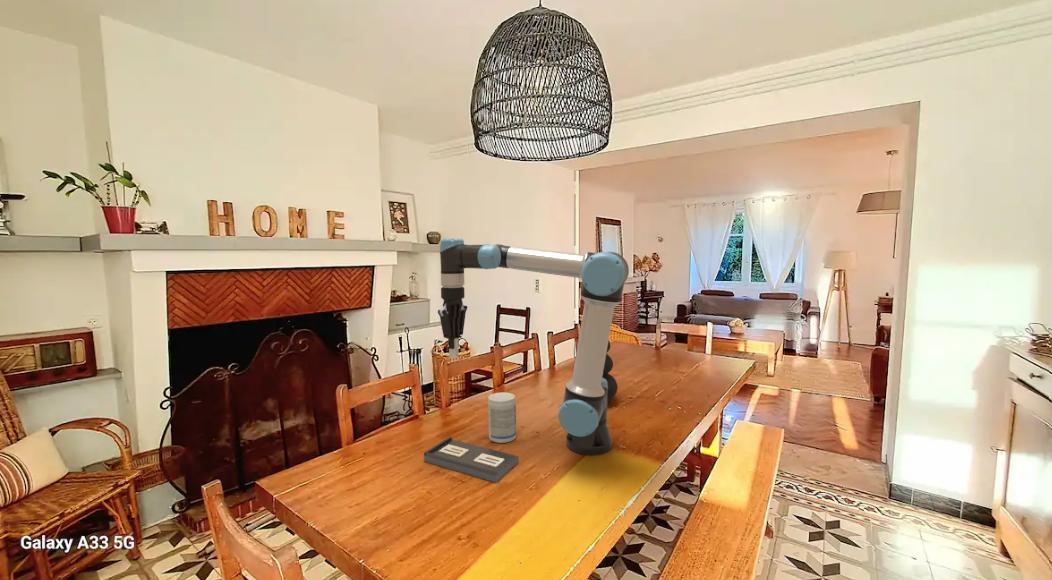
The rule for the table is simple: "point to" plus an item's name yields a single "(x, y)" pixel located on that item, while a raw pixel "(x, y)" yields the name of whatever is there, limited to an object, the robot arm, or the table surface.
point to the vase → (609, 376)
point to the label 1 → (454, 450)
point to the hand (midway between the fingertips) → (453, 357)
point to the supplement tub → (502, 417)
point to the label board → (470, 460)
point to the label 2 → (489, 460)
